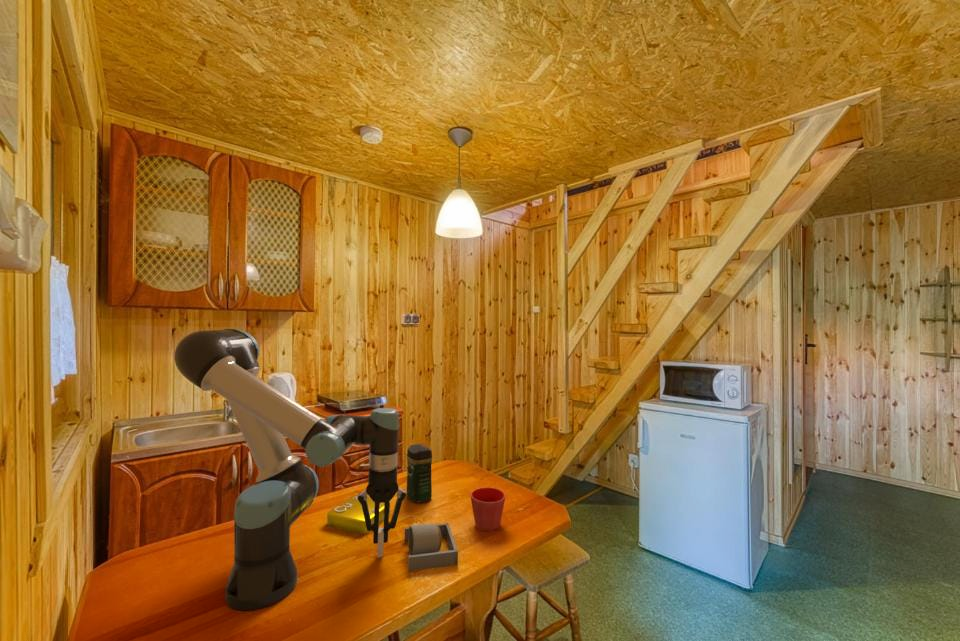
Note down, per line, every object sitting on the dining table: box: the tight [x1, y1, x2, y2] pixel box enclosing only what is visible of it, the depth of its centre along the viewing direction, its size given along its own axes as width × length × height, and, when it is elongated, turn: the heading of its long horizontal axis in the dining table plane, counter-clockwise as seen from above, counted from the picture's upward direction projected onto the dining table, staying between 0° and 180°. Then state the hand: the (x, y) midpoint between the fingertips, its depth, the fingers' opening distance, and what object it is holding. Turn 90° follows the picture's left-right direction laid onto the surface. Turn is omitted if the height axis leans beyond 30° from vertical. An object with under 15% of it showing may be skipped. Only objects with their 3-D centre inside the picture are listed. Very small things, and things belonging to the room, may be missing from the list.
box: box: [404, 522, 459, 572], centre depth 114 cm, size 13×15×4 cm
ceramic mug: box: [407, 523, 442, 556], centre depth 115 cm, size 11×8×8 cm
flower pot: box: [470, 486, 506, 532], centre depth 129 cm, size 11×11×10 cm
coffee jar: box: [406, 443, 433, 503], centre depth 147 cm, size 10×8×19 cm
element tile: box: [326, 494, 391, 535], centre depth 131 cm, size 15×15×5 cm
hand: (380, 554), depth 111 cm, fingers closed
